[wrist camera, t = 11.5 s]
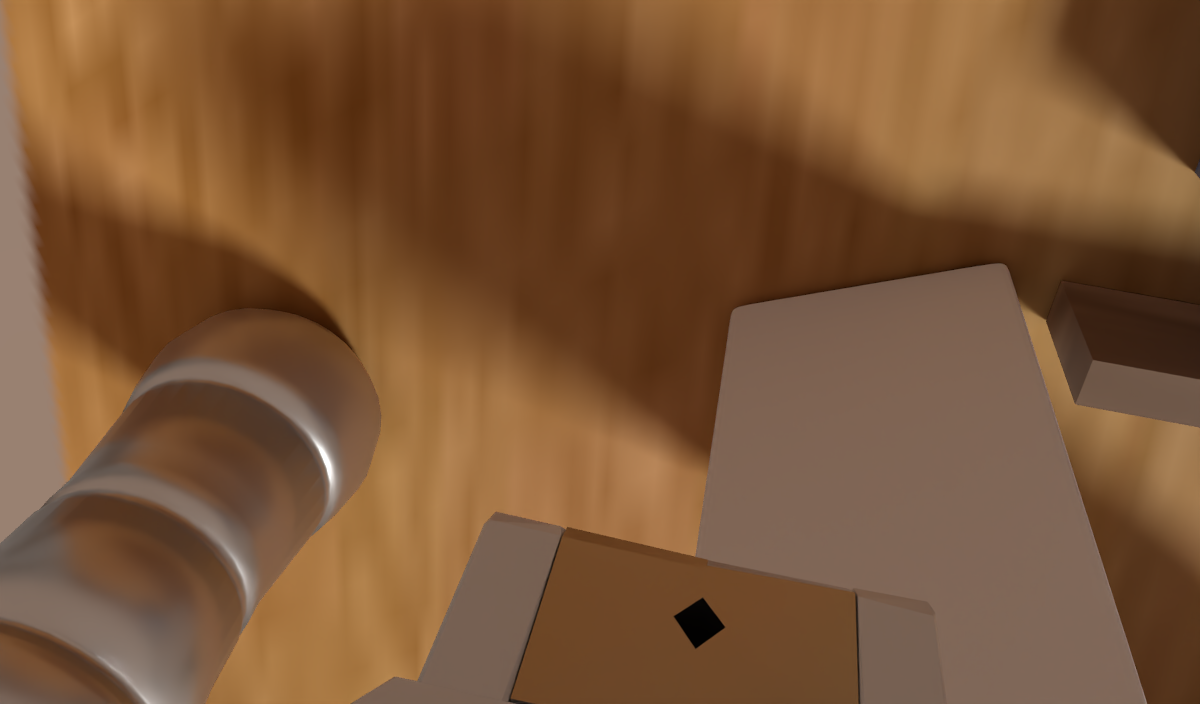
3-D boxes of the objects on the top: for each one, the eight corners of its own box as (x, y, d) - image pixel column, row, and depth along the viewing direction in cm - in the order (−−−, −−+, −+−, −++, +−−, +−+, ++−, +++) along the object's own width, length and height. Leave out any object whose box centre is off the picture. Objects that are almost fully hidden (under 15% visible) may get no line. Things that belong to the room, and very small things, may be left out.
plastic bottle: (384, 490, 36) (-7, 1206, 19) (182, 426, 36) (-388, 1082, 19) (418, 321, 33) (-20, 1010, 16) (194, 251, 33) (-484, 861, 16)
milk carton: (730, 303, 31) (628, 986, 15) (1006, 257, 29) (1240, 986, 13) (782, 512, 34) (745, 1262, 18) (1033, 482, 32) (1249, 1296, 16)
